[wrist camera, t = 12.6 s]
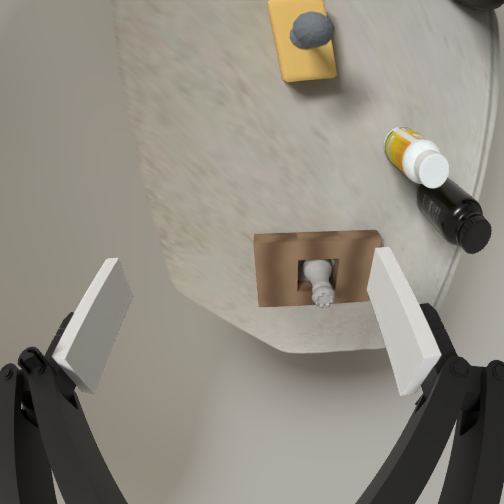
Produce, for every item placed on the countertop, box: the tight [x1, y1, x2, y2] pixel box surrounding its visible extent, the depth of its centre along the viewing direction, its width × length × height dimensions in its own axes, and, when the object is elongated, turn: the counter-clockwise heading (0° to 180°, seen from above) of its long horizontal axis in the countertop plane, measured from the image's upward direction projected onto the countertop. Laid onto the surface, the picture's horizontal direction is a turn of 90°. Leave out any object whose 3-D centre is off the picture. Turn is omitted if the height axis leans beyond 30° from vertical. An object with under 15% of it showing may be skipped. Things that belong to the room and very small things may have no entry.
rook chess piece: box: [303, 259, 335, 308], centre depth 42 cm, size 4×4×8 cm
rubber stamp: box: [267, 0, 337, 82], centre depth 22 cm, size 10×6×12 cm, turn 11°
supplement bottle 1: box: [384, 126, 449, 188], centre depth 30 cm, size 5×5×10 cm
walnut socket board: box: [254, 230, 382, 307], centre depth 44 cm, size 18×12×2 cm, turn 94°
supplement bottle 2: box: [417, 177, 492, 254], centre depth 32 cm, size 7×7×12 cm
